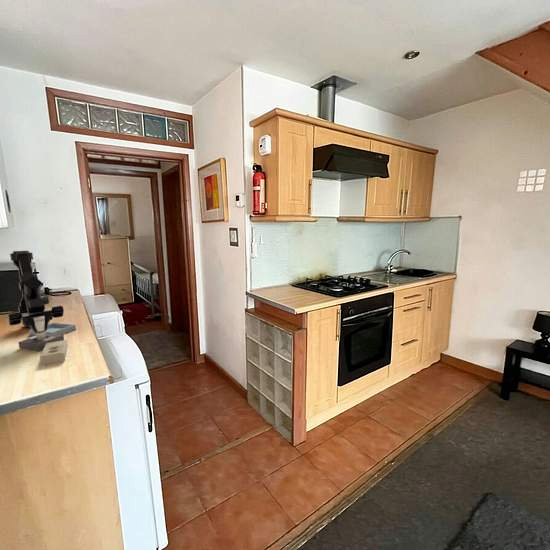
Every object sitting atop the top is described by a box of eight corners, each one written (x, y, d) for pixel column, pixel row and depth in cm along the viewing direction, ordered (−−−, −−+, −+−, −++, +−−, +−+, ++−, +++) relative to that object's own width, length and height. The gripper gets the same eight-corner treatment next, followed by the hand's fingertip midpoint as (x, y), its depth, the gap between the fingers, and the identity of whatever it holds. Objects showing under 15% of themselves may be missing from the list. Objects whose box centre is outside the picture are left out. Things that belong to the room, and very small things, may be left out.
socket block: (19, 348, 125) (18, 341, 125) (45, 339, 136) (44, 332, 135) (39, 351, 122) (38, 343, 122) (64, 341, 133) (63, 334, 132)
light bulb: (35, 346, 128) (31, 318, 126) (43, 343, 131) (39, 315, 129) (41, 346, 127) (37, 318, 125) (49, 343, 130) (46, 316, 128)
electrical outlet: (66, 337, 127) (63, 352, 112) (67, 346, 128) (65, 362, 113) (45, 341, 124) (40, 356, 108) (47, 350, 124) (41, 367, 109)
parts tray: (29, 335, 141) (29, 330, 141) (54, 327, 153) (53, 322, 152) (52, 337, 138) (52, 332, 137) (75, 329, 149) (75, 324, 149)
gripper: (5, 294, 122) (11, 326, 116) (60, 288, 135) (68, 316, 129) (6, 309, 128) (12, 340, 122) (59, 302, 141) (66, 329, 135)
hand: (41, 331), depth 127 cm, fingers closed on light bulb, 3 cm apart
